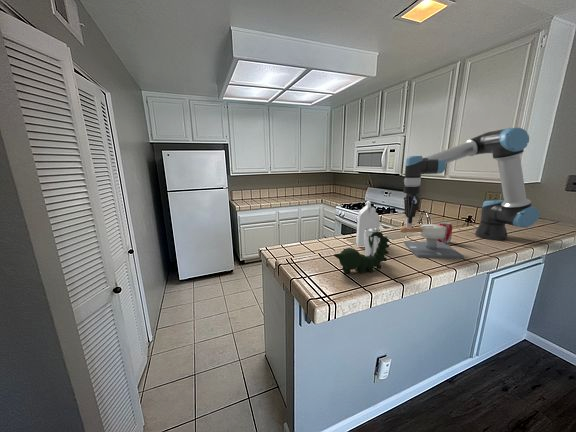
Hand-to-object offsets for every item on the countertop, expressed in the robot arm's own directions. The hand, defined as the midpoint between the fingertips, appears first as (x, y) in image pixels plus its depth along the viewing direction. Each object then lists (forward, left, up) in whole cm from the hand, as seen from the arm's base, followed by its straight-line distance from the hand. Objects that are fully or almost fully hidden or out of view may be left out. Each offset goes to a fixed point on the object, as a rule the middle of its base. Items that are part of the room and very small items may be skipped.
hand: (408, 228), depth 125 cm
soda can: (-24, -12, -12) cm, 29 cm away
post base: (-11, +3, -12) cm, 16 cm away
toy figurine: (+30, +32, -12) cm, 45 cm away
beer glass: (+23, +17, -12) cm, 31 cm away
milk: (+21, -5, -12) cm, 24 cm away
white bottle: (-6, +3, -3) cm, 7 cm away
